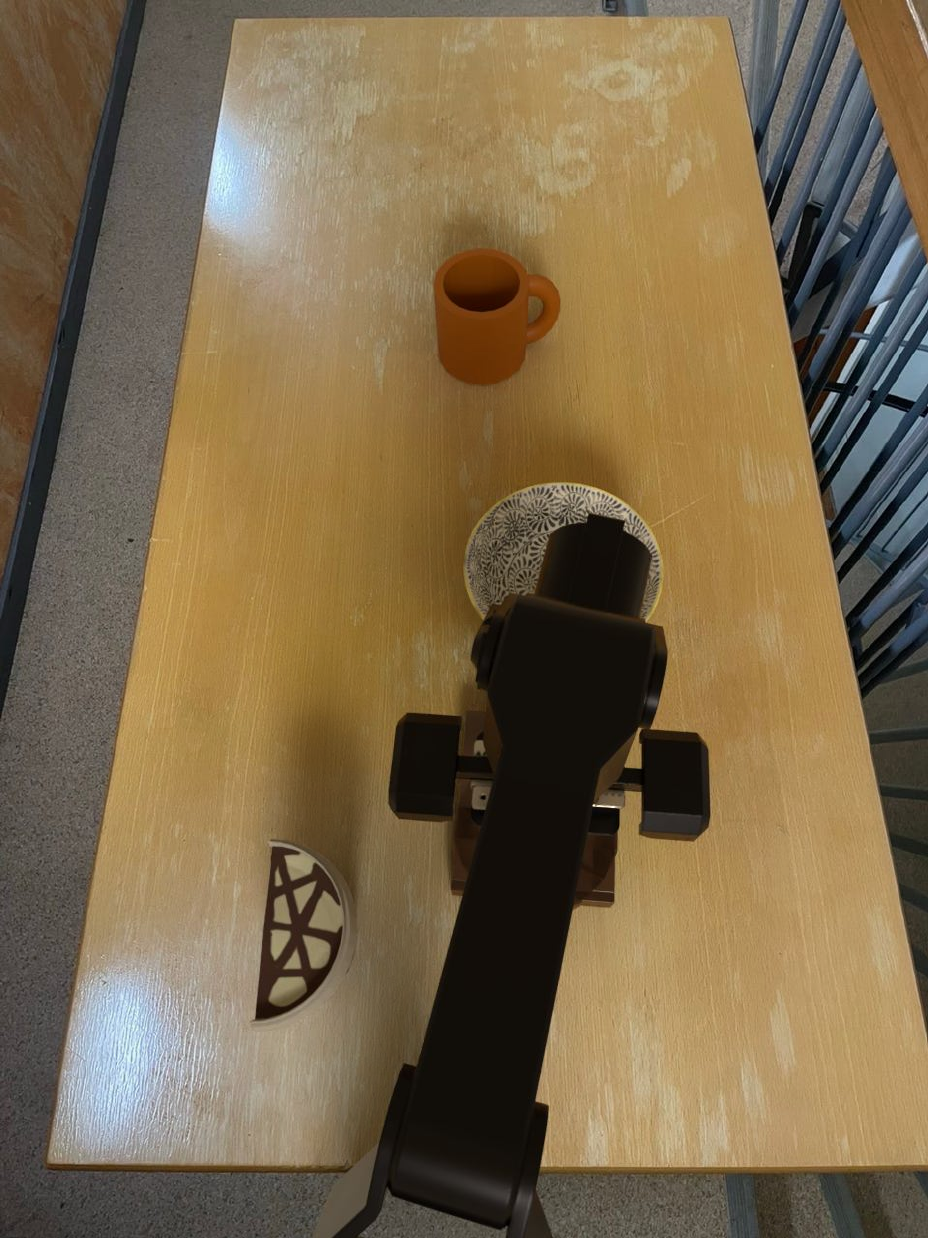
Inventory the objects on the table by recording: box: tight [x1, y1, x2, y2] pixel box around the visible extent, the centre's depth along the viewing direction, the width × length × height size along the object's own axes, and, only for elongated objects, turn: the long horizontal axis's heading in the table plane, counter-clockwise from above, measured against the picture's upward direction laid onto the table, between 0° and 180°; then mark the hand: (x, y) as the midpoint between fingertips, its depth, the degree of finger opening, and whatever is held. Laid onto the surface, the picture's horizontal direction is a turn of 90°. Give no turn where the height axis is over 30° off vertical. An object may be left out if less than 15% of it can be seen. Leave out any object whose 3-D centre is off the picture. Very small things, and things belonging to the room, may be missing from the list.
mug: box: [432, 247, 561, 386], centre depth 88 cm, size 9×12×9 cm
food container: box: [248, 838, 358, 1034], centre depth 64 cm, size 12×6×10 cm, turn 179°
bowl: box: [462, 481, 665, 623], centre depth 77 cm, size 16×16×8 cm
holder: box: [450, 710, 619, 910], centre depth 71 cm, size 15×12×2 cm
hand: (540, 808), depth 63 cm, fingers closed
